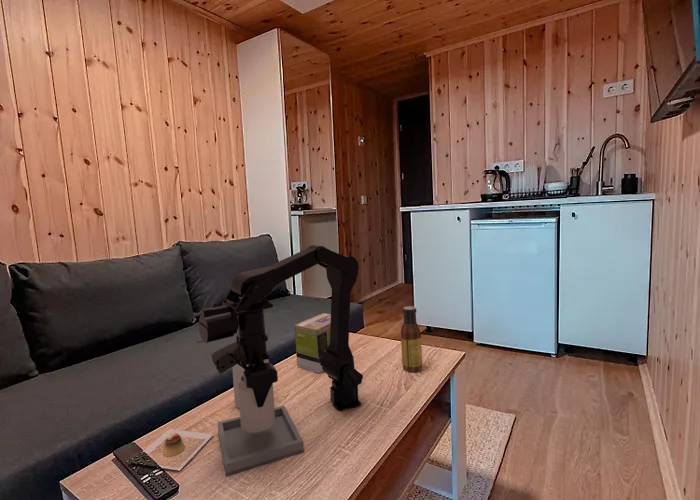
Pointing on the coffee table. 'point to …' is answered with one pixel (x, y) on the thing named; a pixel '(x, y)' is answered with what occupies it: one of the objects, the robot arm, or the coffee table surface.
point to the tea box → (312, 341)
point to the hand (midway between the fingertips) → (256, 398)
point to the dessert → (176, 444)
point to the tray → (258, 443)
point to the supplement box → (238, 380)
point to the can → (255, 410)
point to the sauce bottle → (411, 341)
